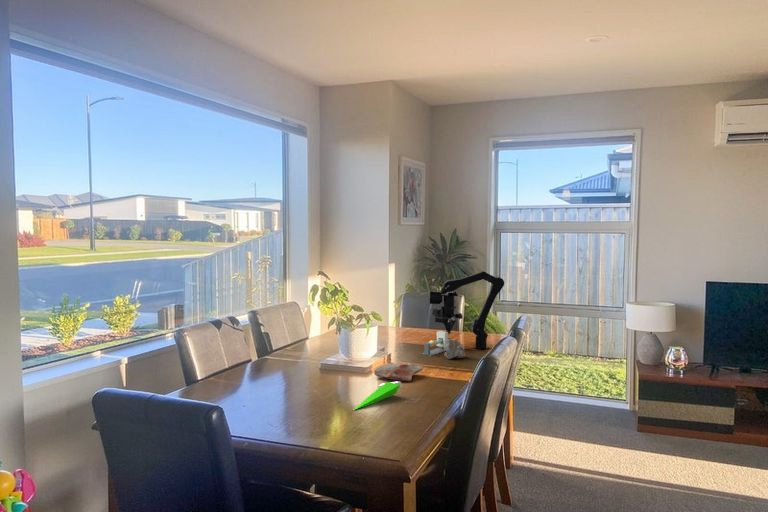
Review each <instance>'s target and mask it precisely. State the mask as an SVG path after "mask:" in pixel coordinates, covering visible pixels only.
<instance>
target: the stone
mask: <svg viewBox="0 0 768 512" xmlns="http://www.w3.org/2000/svg"><path fill="white" fill-rule="evenodd" d="M423 368H424V367H423V366H422V365H416V364H413V363H409V362H405V363H400V362H399V363H394V362H388V363H384V364H382V365H380V366H378V367H376V368H375V369H374V372H373V373H374V375H375V376H376V377H382V378H385V379H389V380H393V381H397V382H398V381H401V382H411V381H412V379H413V378H412V377H413V376H414V375H415V374H418V373H420V372H422V370H423Z"/></svg>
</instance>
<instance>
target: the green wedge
mask: <svg viewBox="0 0 768 512" xmlns="http://www.w3.org/2000/svg"><path fill="white" fill-rule="evenodd" d="M402 386H403V384H402V381H398V380H397V381H392V382H391V381H390V382H389V381H386V382H385V383H380V384H379V387H377V389H375V390H374V391H373V392H372V393H370V394H369V395H368V396H367V397H366V398H365V399H364V400H363V401H361V402H360V403H359V404H358V405H357V406H356V407H355V408H354V409H357V410H359V409H358V408H360V409H362V408H361V407H363V408H364V406H365V407H368V406H370V405H373V404H375V403H377V402H380V400H381V401H382V400H385V398H386V399H388V398H390V396H391V397H393V396H394V395H395V394H397V392H398V390H399V388H400V387H402ZM372 403H373V404H372ZM367 405H368V406H367Z"/></svg>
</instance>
